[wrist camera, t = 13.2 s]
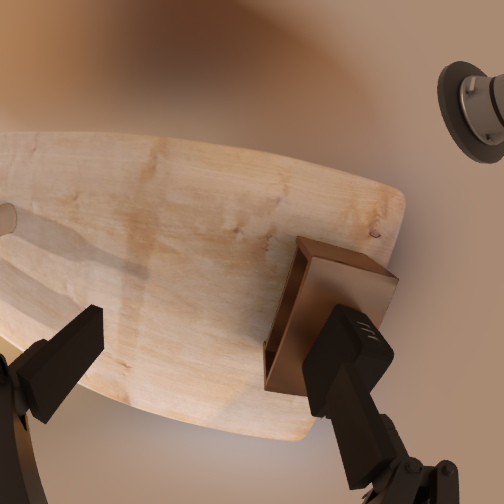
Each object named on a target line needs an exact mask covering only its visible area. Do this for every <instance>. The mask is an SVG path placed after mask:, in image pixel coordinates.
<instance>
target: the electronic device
mask: <svg viewBox="0 0 504 504" xmlns="http://www.w3.org/2000/svg"><path fill="white" fill-rule="evenodd" d="M393 358H394V352H393V349H392V348H391V347H390V345H389V344H388V343H387V341H386V340H385V339H384V337H383V336H382V335H381V333H380V332H379V331H378V329H377V328H376V327H375V325H374V324H373V323H372V321H371V320H370V319H369V317H368V316H367V315H366V314H365V313H362V312H359V311H356V310H353V309H351V308H348V307H345V306H342V305H339V304H336V305H335V307H334V308H333V310H332V312H331V314H330V315H329V317H328V319H327V321H326V323H325V325H324V326H323V328H322V330H321V332H320V334H319V335H318V337H317V339H316V341H315V342H314V344H313V346H312V348H311V349H310V351H309V353H308V354H307V356H306V358H305V359H304V361H303V364H302V373H303V378H304V382H305V387H306V391H307V396H308V401H309V406H310V410H311V414H312V416H314V417H320V418H321V420H324V419H325V418H327V419H331V418H330V414H329V411H328V407H327V404H326V400H325V397H326V395H327V393H328V391H329V389H330V387H331V385H332V384H333V382H334V380H335V378H336V376H337V374H338V372H339V370H340V367H341V365H342V363H343V362H344V363H354V364H355V365H356V367H357V369H358V371H359V373H360V375H361V377H362V379H363V381H364V383H365V385H366V387H367V389H368V391H369V393H370V392H371V390H372V389H373V388H374V387H375V385H376V384H377V382H378V381H379V380H380V378H381V377H382V375H383V374H384V373H385V371H386V370H387V368H388V367H389V366H390V364H391V362H392V360H393Z"/></svg>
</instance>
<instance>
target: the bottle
mask: <svg viewBox="0 0 504 504" xmlns="http://www.w3.org/2000/svg"><path fill="white" fill-rule="evenodd" d="M16 224H17V215H16V211H15V208H14V206H13V205H12V204H10V203H7V204H1V205H0V236H2V235H5V234H9V233H12V232H13V231H14V230H15V228H16Z"/></svg>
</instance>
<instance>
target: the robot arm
mask: <svg viewBox="0 0 504 504" xmlns="http://www.w3.org/2000/svg"><path fill="white" fill-rule="evenodd" d="M457 100H458V106H459V109H460V113H461V116H462V118H463V120H464V122H465V124H466V126H467V128H468V130H469V131H470V132H471V134H472V135H473V136H474V137H475V138H476V139H477V140H478V141H479V142H480V143H482V144H484V145H497V144H499V143H501V142H502V141H504V74H502V75H499V76H497V77H493V78H490V77H483V76H474V75H472V76H468V77H466V78H464V79H462V80H461V81H460V83H459V85H458V89H457ZM103 350H104V335H103V308H100V307H98V306H95V305H92V304H91V305H90V306H89V307H88V308H86V309H85V310H84V311H83V312H82V313H80V314H79V315H78V316H77V317H76V318H75V319H73V320H72V321H71V322H70V323H69V324H68V325H66V326H65V327H64V328H63V329H62V330H61V331H60V332H58V333H57V334H56V335H55V336H54V337H53V338H52V339H50V340H49V341H47V340H45V339H42V340H39V341H37V342H35V343H33V344H32V345H31V346H30V347H29V349H27V350H25V351H24V353H22V354H21V355H20V356H19V357H18V358H16V359H15V360H14V362H12V363H11V364H10V365H9V366H7V362H6V360H5V357H4V356H3V355H2V354H0V504H48V502H47V500H46V496H45V493H44V490H43V487H42V484H41V480H40V477H39V473H38V469H37V465H36V461H35V457H34V452H33V448H32V443H31V437H30V432H29V425H28V419H27V415H26V412H27V411H28V409H29V408H30V411H31V413H32V415H33V417H35V418H36V419H38V420H40V421H41V422H43V423H44V424H46V423H47V422H48V421H49V419H50V418H51V417H52V415H53V414H54V412H55V411H56V410H57V408H58V407H59V406H60V404H61V403H62V401H63V400H64V399H65V398H66V396H67V395H68V394H69V393H70V391H71V390H72V389H73V387H74V386H75V385H76V383H77V382H78V381H79V380H80V378H81V377H82V376H83V375H84V373H85V372H86V371H87V370H88V368H89V367H90V366H91V365H92V363H93V362H94V361H95V360H96V358H97V357H98V356H99V355H100V353H101V352H102V351H103ZM325 400H326V404H327V407H328V411H329V414H330V418H331V421H332V425H333V428H334V432H335V435H336V439H337V443H338V447H339V450H340V454H341V458H342V462H343V465H344V469H345V473H346V477H347V481H348V484H349V489H350V490H355V489H363V488H366V486H368V485H369V484H370V483H371V482H372V485H373V488H372V489H371V490H370V491H369V492H367V494H365V495H364V496H363V497H362V499H364V498H365V497H366V496H367V497H366V498H365V500H364V502H363V503H362V504H459V480H458V469H457V467H456V465H455V464H454V463H453V462H451V461H448V460H443V461H441V462H439V463H438V464H437V465H436V466H435V467H434V466H423V464H422V463H421V462H420V461H419V460H418V459H416V458H413V457H409V455H408V453H407V451H406V449H405V447H404V444H403V443H402V440H401V438H400V436H398V432H397V430H395V426H394V424H393V422H392V420H391V419H390V418H389V417H388V416H387V415H386V414H379V412H378V410H377V408H376V406H375V404H374V401H373V399H372V397H371V395H370V393H369V391H368V389H367V387H366V385H365V383H364V381H363V379H362V377H361V375H360V373H359V371H358V369H357V367H356V365H355V364H354V363H344V362H343V363H342V365H341V367H340V370H339V372H338V374H337V376H336V378H335V380H334V382H333V384H332V385H331V387H330V389H329V391H328V393H327V395H326V397H325Z"/></svg>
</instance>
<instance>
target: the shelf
mask: <svg viewBox="0 0 504 504" xmlns="http://www.w3.org/2000/svg"><path fill="white" fill-rule="evenodd" d="M296 243H297V248H296V251H295V255H294V258H293V261H292V265H291V268H290V271H289V274H288V278H287V281H286V284H285V287H284V290H283V294H282V297H281V300H280V303H279V306H278V309H277V312H276V315H275V318H274V321H273V324H272V327H271V330H270V333H269V336H268V339H267V341H264V344H263V360H264V390H265V391H270V392H277V393H283V394H290V395H298V396H306V397H308V396H307V391H306V387H305V382H304V378H303V373H302V364H303V361H304V359H305V358H306V356H307V354H308V353H309V351H310V349H311V348H312V346H313V344H314V342H315V341H316V339H317V337H318V335H319V334H320V332H321V330H322V328H323V326H324V325H325V323H326V321H327V319H328V317H329V315H330V314H331V312H332V310H333V308H334V307H335V305H336V304H339V305H342V306H345V307H348V308H351V309H353V310H356V311H359V312H362V313H365V314H366V315H367V316H368V317H369V319H370V320H371V321H372V323H373V324H374V325H375V327H376V328H377V329H379V327H380V324H381V322H382V320H383V318H384V315H385V313H386V311H387V309H388V306H389V304H390V301H391V299H392V296H393V294H394V291H395V289H396V286H397V284H398V281H399V279H398V278H397V277H396V276H394V275H393V274H391V273H390V272H389V271H387V270H386V269H385V268H383V267H382V266H381V265H379V264H378V263H377V262H375V261H374V260H372V259H371V258H370V257H368V256H367V255H365V254H361V253H358V252H354V251H351V250H347V249H344V248H340V247H337V246H333V245H329V244H326V243H322V242H319V241H315V240H311V239H308V238H304V237H300V236H297V239H296Z"/></svg>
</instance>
